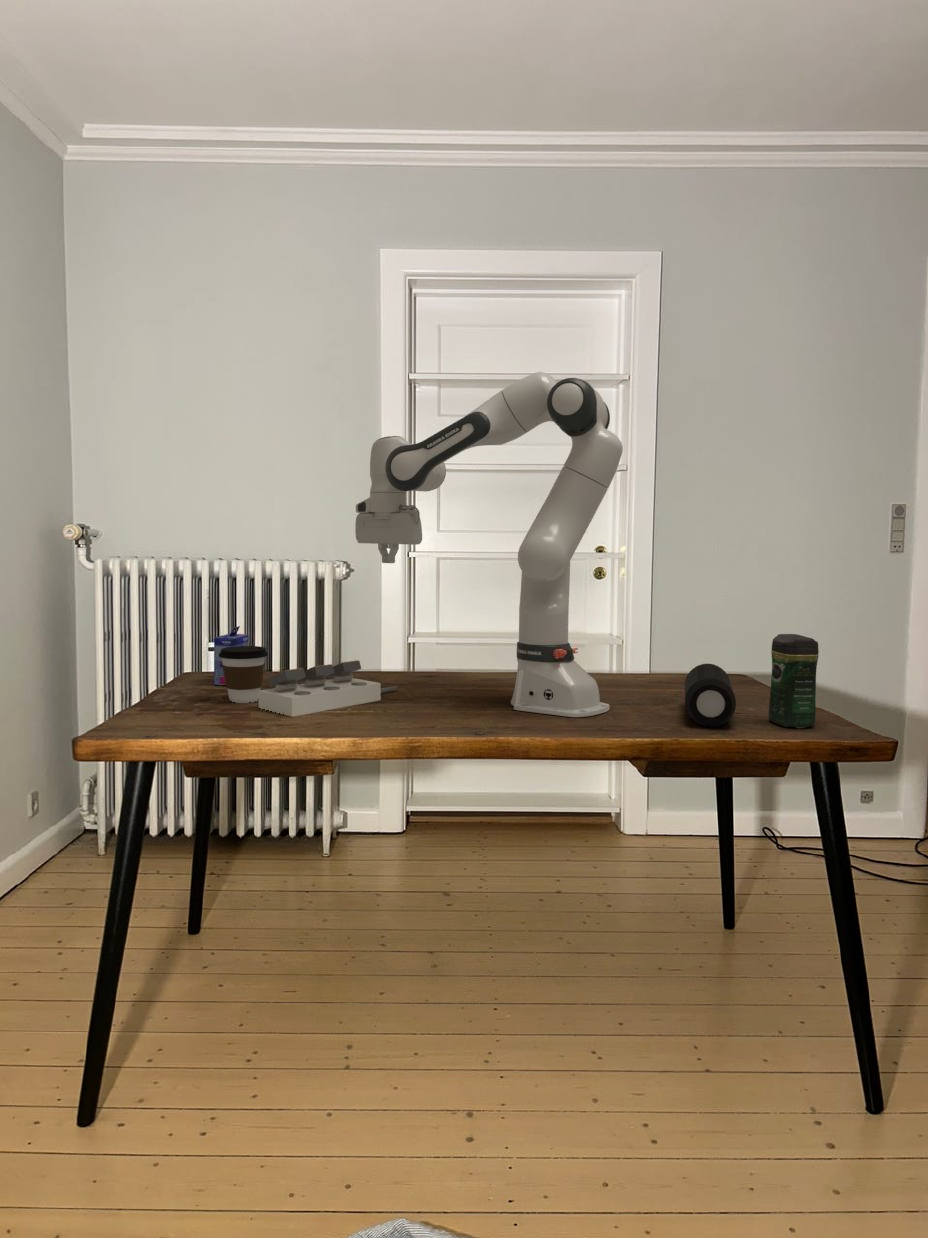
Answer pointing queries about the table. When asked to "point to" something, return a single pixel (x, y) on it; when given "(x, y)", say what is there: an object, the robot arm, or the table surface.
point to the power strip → (320, 695)
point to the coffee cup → (243, 672)
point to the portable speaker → (709, 695)
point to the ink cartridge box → (224, 642)
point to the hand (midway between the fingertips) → (388, 563)
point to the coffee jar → (793, 680)
